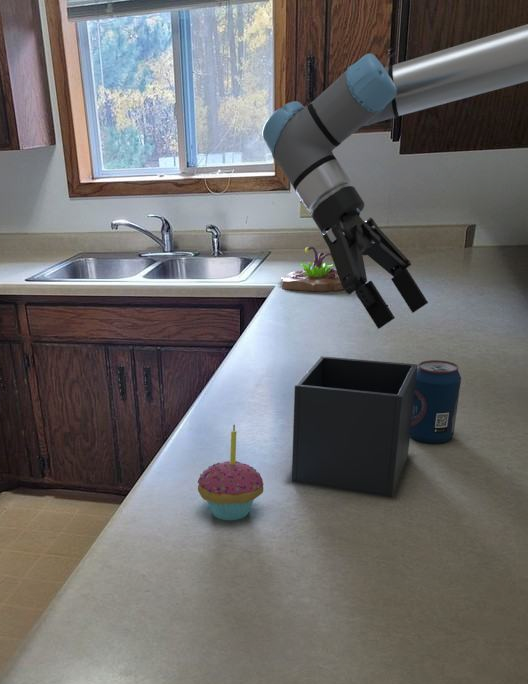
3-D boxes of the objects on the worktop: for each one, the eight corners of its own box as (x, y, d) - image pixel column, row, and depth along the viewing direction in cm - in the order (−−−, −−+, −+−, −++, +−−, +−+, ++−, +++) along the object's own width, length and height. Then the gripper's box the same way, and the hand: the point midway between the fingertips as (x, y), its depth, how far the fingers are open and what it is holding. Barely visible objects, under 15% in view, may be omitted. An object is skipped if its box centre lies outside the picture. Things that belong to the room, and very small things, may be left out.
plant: (290, 277, 234) (291, 240, 229) (352, 279, 228) (355, 241, 223) (274, 290, 218) (275, 251, 213) (341, 293, 211) (344, 252, 206)
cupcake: (207, 496, 103) (205, 416, 97) (268, 502, 100) (270, 420, 95) (191, 526, 95) (188, 441, 90) (256, 534, 93) (257, 446, 88)
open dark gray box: (407, 459, 111) (417, 364, 104) (391, 500, 99) (402, 396, 93) (315, 447, 116) (320, 356, 109) (291, 484, 105) (294, 385, 98)
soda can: (400, 431, 120) (407, 360, 115) (441, 428, 120) (450, 357, 115) (416, 448, 114) (425, 374, 108) (460, 445, 114) (471, 371, 109)
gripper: (347, 209, 126) (414, 314, 125) (273, 222, 108) (350, 344, 107) (382, 179, 120) (452, 288, 119) (310, 187, 102) (392, 316, 102)
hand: (404, 315), depth 113 cm, fingers open, 13 cm apart
